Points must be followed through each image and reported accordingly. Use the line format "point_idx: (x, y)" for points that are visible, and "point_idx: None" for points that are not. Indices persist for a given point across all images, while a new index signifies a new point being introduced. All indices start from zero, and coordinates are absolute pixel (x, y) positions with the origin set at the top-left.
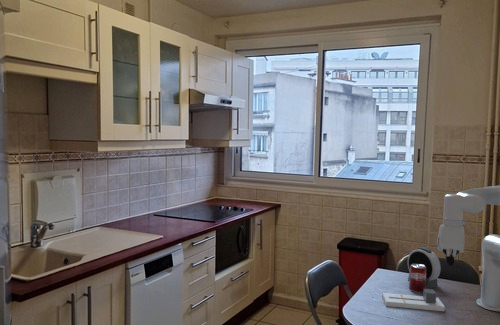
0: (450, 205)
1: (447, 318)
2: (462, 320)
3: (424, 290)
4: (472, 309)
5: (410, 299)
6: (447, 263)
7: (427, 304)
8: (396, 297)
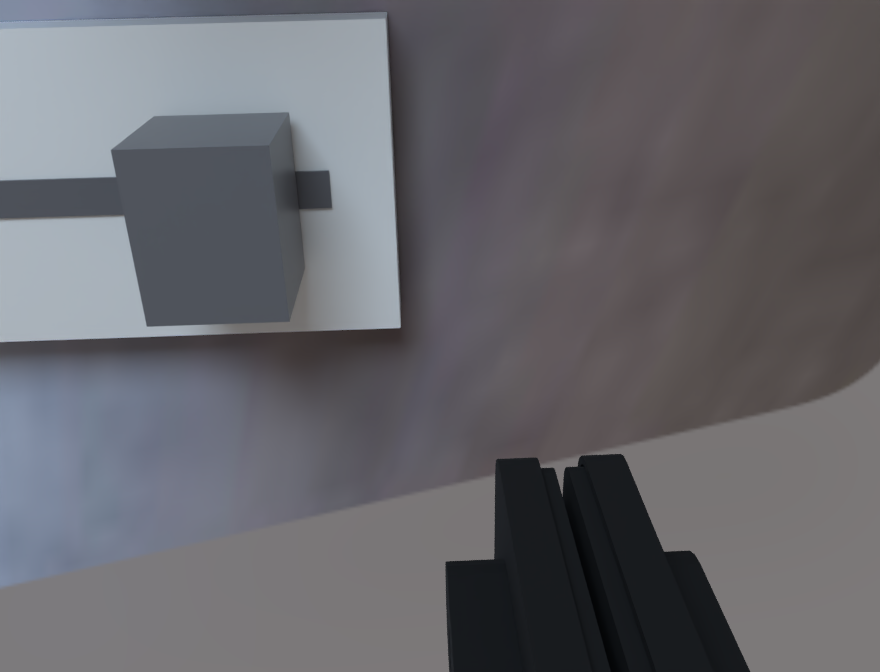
0: None
1: (388, 461)
2: None
3: (125, 209)
4: (767, 156)
5: None
6: (498, 550)
7: None
8: None
